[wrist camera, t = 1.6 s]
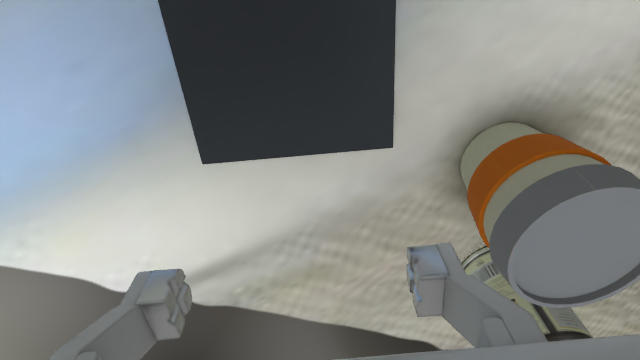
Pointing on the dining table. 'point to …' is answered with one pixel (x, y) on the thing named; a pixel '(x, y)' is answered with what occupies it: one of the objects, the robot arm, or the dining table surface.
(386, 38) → the mat
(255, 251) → the dining table surface
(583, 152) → the reusable coffee cup
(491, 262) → the coffee can
